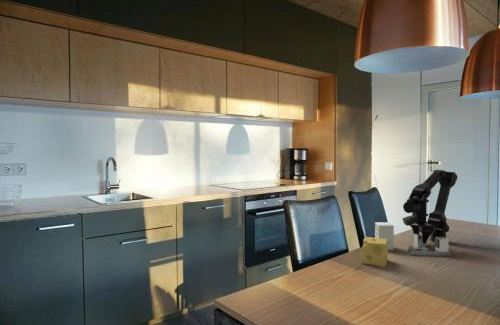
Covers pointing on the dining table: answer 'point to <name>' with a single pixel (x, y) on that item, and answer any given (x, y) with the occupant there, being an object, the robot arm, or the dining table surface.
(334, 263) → the dining table surface
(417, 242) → the block
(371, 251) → the cheese
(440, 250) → the rail
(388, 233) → the supplement box
